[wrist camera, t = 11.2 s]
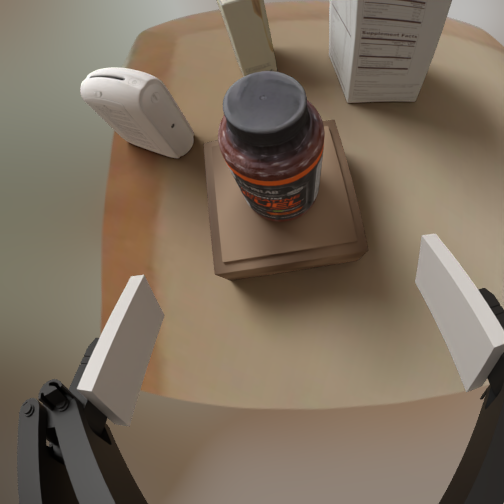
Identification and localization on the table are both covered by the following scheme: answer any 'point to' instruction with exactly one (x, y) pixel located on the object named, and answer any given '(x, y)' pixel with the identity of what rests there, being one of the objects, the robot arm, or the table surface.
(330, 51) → the supplement box
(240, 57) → the skincare box
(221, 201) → the wooden box
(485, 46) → the table surface
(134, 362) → the robot arm
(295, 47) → the table surface
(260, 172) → the supplement bottle
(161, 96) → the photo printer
